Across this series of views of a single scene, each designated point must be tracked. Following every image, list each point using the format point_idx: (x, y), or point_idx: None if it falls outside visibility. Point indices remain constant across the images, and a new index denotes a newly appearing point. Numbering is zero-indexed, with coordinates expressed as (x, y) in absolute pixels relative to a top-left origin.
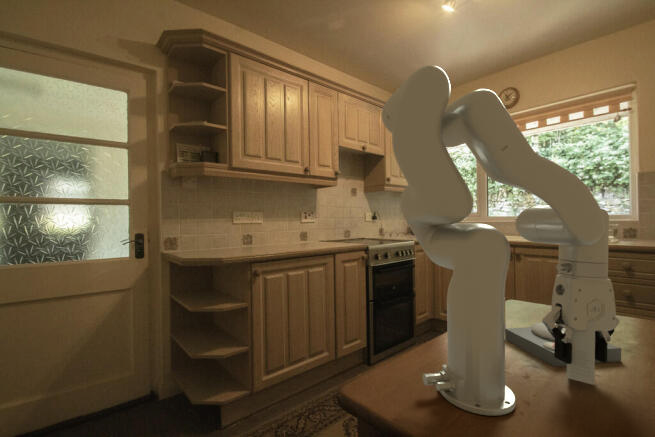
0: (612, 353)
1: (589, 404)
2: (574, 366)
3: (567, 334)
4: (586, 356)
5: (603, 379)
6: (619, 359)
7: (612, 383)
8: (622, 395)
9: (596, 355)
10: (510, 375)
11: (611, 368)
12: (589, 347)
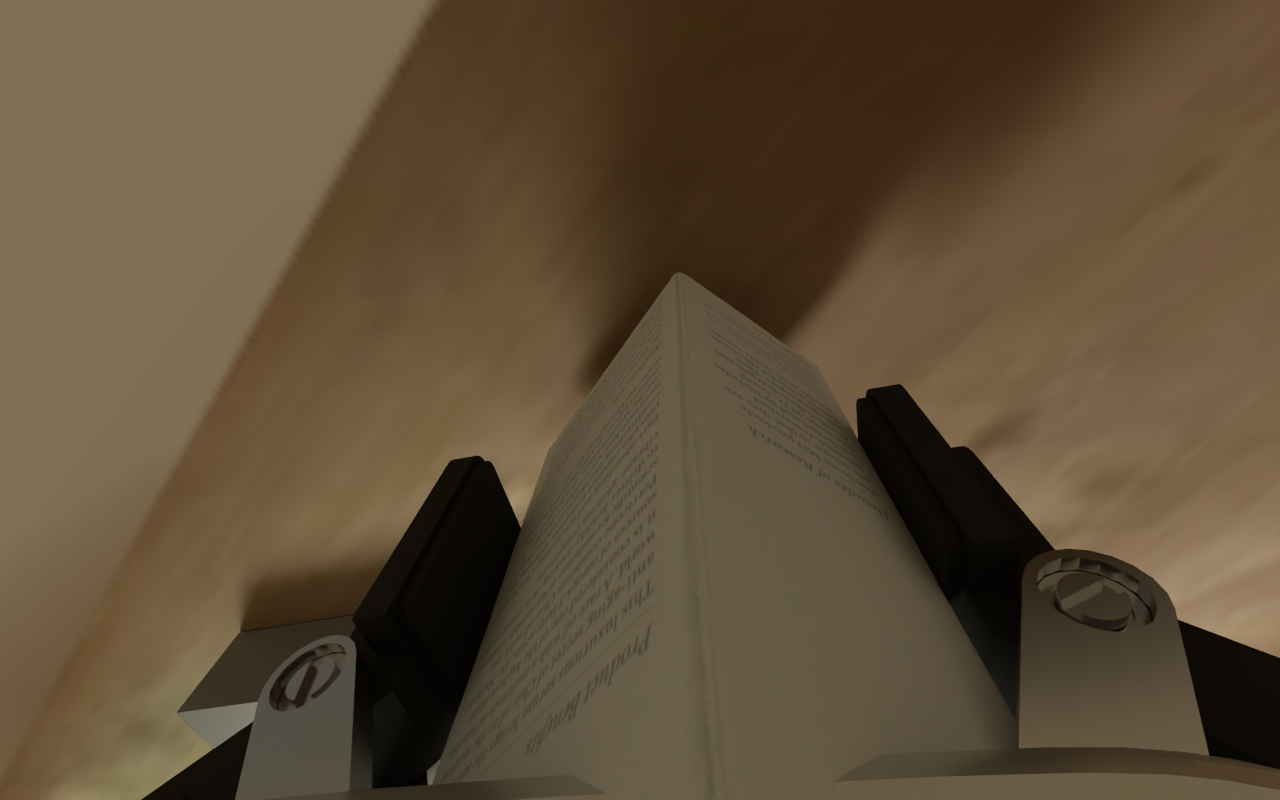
0: (259, 673)
1: (849, 69)
2: (803, 389)
3: (1158, 689)
4: (750, 406)
5: (479, 436)
6: (241, 641)
7: (452, 391)
8: (487, 236)
9: (501, 532)
10: (1099, 444)
11: (343, 560)
12: (746, 463)
